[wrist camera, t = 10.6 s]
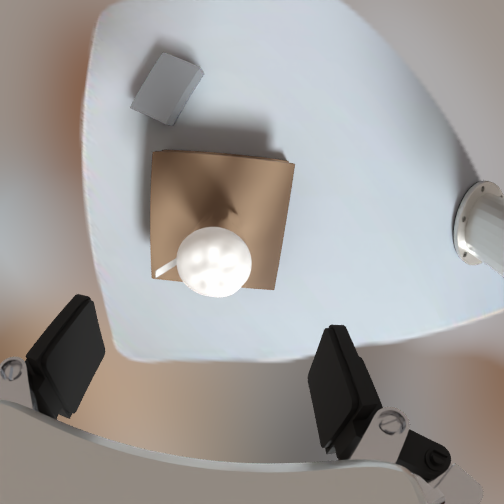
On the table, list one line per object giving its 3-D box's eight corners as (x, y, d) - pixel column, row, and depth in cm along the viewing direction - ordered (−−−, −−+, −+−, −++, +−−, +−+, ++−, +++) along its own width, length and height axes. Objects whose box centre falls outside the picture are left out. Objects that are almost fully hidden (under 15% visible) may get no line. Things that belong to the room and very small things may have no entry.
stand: (287, 160, 26) (294, 164, 22) (270, 271, 30) (274, 290, 27) (164, 149, 25) (152, 151, 21) (161, 261, 29) (151, 278, 26)
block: (204, 74, 22) (200, 67, 19) (173, 125, 24) (165, 124, 21) (170, 60, 21) (162, 51, 18) (140, 110, 23) (129, 107, 20)
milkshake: (187, 195, 23) (153, 235, 13) (250, 200, 23) (257, 244, 14) (185, 245, 24) (157, 308, 15) (245, 250, 25) (248, 317, 16)
